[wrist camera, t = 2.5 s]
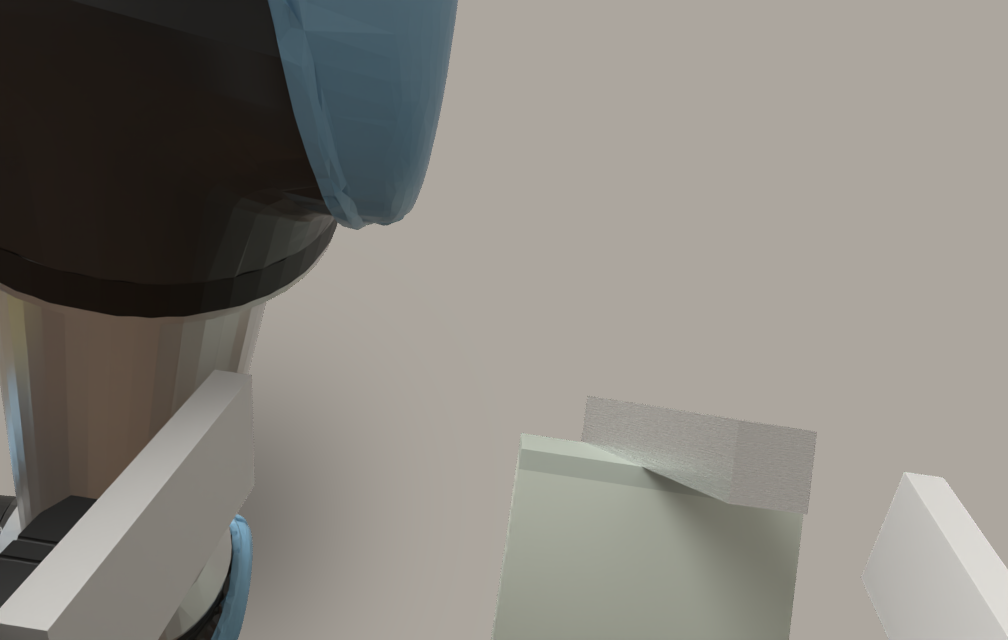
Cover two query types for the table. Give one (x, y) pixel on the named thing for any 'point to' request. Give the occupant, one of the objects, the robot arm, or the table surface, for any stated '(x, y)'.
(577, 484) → the pedestal
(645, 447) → the rail bar
